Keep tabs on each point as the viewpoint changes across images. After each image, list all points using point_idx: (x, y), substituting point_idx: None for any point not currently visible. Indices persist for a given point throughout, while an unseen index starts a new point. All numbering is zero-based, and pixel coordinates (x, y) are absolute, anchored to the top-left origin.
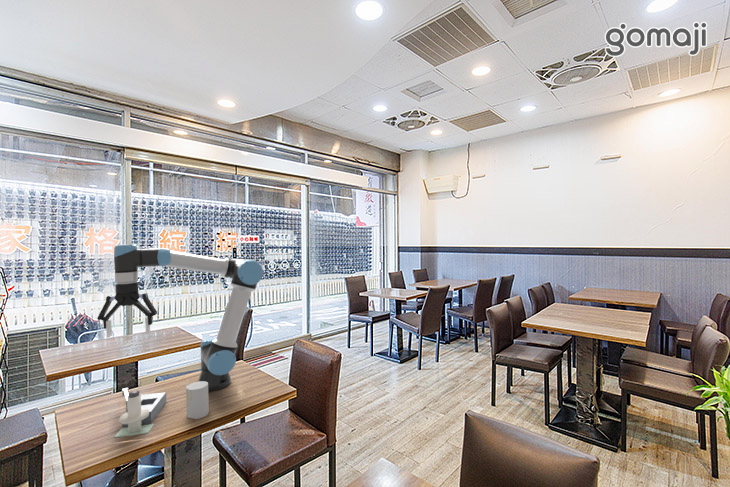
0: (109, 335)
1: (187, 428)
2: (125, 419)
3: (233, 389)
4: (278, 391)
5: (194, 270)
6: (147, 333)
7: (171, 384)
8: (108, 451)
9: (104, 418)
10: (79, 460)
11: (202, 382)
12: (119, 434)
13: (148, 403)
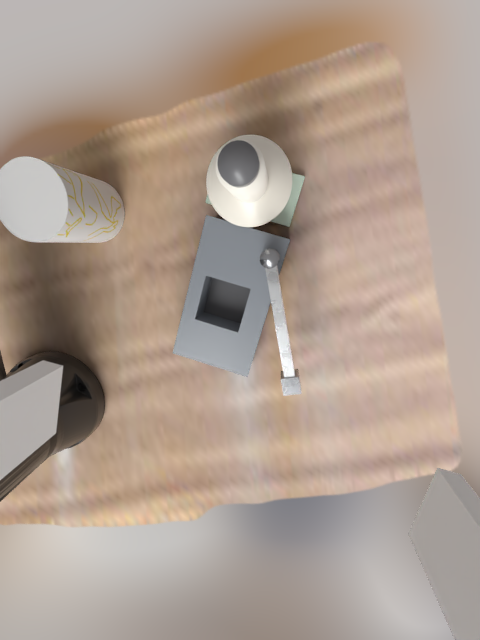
0: (438, 495)
1: (118, 130)
2: (273, 159)
3: (6, 328)
4: None
5: None
6: (46, 363)
7: (178, 473)
8: (312, 104)
9: (341, 337)
10: (380, 91)
11: (14, 221)
12: (292, 184)
13: (224, 324)
